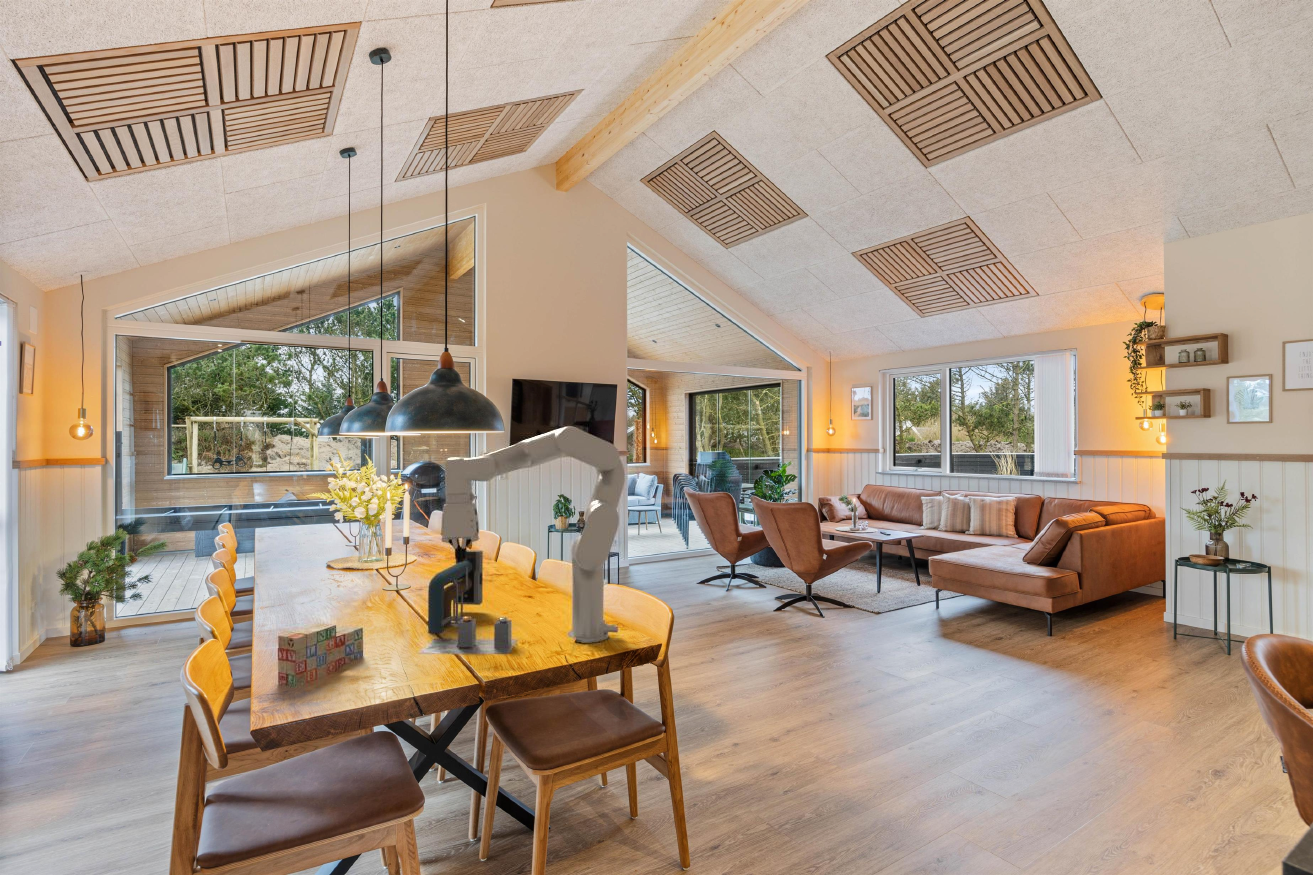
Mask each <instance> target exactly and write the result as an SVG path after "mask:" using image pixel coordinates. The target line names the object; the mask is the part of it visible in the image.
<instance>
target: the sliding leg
mask: <svg viewBox="0 0 1313 875" xmlns="http://www.w3.org/2000/svg"><path fill="white" fill-rule="evenodd" d="M463 616H464V617H463V619H461V620H460V621H458V627H457V639H458V647H472V646H473V645H474V644H475V643H476V639H477V638H476V637H477V636H476V634H477V633H476V632H477V631H476V630H477V629H476V625H477V623H476V621H477V620H476V618H472V616H471V615H463Z"/></svg>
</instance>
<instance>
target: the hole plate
mask: <svg viewBox="0 0 1313 875" xmlns="http://www.w3.org/2000/svg"><path fill="white" fill-rule="evenodd" d="M518 641H519V638H511V645H510V647H509V648H494V638H476V643H475V644H474V645H473V646H472V647H458V638H434V639H433V640H431V641H430V642H429V643H428V644H427V645H425V646H424V647H423V648H422V649H421V650H420V651H419V652H418V653H417V654H419V655H429V654H431V655H509V653H510V652H511V651H512V649H513V648H514V646H515V645H516V644H517V642H518Z"/></svg>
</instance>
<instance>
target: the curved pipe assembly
mask: <svg viewBox="0 0 1313 875" xmlns="http://www.w3.org/2000/svg"><path fill="white" fill-rule="evenodd" d="M483 556H484V555H483V550H469V549H468V550H467V558H466V559H465V561H464V562H457V559H455V564H454V565H452V566H450V567H448V568H446V569H443V570H441V571H439V572H437V573H436V574H435V575H434V576H433V577H432V578H431V579H430V582H429V584H428V588H427V589H428V590H427V595H428V596H427V598H428V599H427V600H428V602H427V605H428V606H427V608H428V609H427V613H428V614H427V623H426V624H427V633H428V634H431V635H433V634H435V635H437V634H442V633H444V632H445V630H444V629H448V628H450V627H451V628H452V627H453V628H455V627H457V628H458V622H459V621H460V620H461V619H463V617H464V616H465V615H464V605H466V606H467V605H471V606H472V605H474V606H476V605H477V606H480V605H481V604H483V590H484V589H483V575H484V574H483V570H484V569H483V568H484V566H483V565H484V564H483V558H484V557H483ZM447 585H448V586H447ZM459 605H460V615H459ZM452 611H453V612H452Z"/></svg>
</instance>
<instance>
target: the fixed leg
mask: <svg viewBox="0 0 1313 875" xmlns="http://www.w3.org/2000/svg"><path fill="white" fill-rule="evenodd" d="M493 626H494V628H493V629H494V630H493V631H494V632H493V636H494V637H493V639H494V648H509V647H510V645H511V639H512V619H508V617H506V616H503V617H498V619H497V620H495V622H494V624H493Z"/></svg>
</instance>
